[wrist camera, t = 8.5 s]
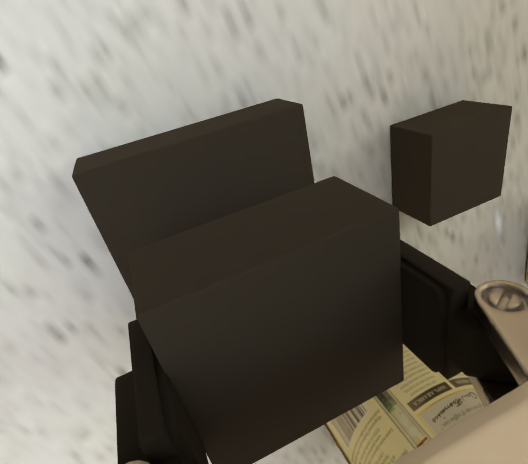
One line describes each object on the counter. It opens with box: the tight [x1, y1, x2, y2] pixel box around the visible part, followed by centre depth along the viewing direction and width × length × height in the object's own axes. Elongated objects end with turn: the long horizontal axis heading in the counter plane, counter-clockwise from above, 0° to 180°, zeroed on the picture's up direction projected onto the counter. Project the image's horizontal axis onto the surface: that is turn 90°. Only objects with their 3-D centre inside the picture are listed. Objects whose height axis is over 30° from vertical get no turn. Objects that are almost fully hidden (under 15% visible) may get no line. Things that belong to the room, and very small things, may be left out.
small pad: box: [390, 100, 512, 226], centre depth 20 cm, size 5×5×3 cm
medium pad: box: [128, 176, 404, 464], centre depth 11 cm, size 6×6×3 cm
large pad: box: [72, 99, 314, 298], centre depth 17 cm, size 9×9×2 cm
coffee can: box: [325, 344, 484, 464], centre depth 22 cm, size 10×10×14 cm
